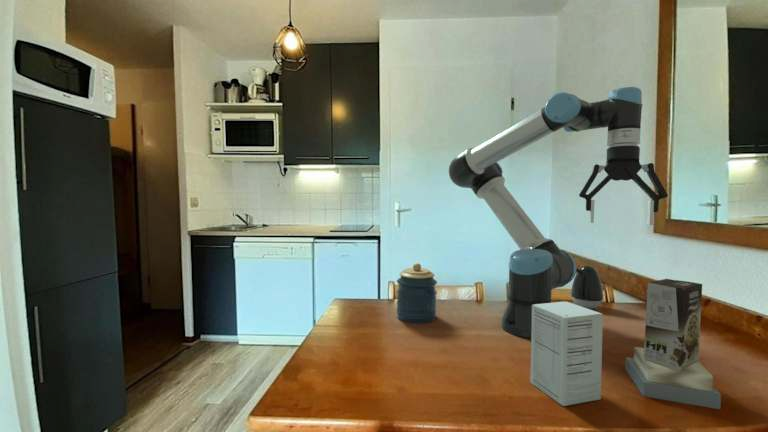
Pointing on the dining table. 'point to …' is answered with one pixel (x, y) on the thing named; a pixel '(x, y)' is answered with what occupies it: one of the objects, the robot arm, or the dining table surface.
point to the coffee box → (673, 323)
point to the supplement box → (566, 352)
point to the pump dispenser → (587, 288)
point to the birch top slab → (674, 373)
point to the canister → (416, 295)
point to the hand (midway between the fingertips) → (619, 223)
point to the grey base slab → (671, 389)
